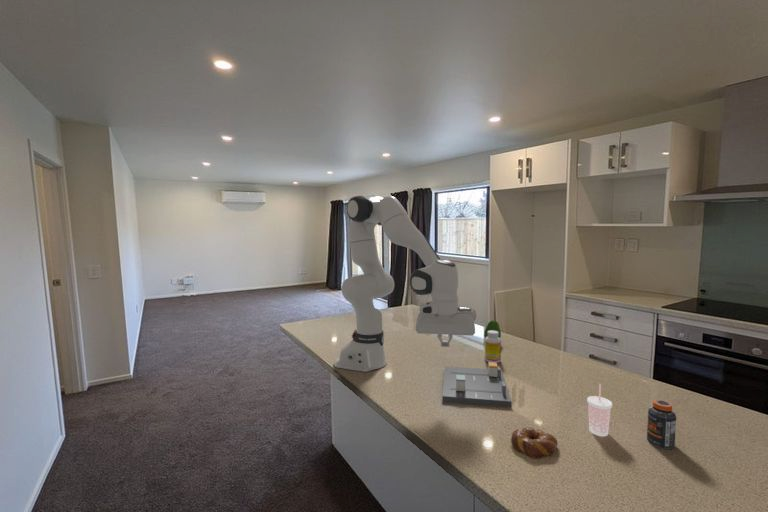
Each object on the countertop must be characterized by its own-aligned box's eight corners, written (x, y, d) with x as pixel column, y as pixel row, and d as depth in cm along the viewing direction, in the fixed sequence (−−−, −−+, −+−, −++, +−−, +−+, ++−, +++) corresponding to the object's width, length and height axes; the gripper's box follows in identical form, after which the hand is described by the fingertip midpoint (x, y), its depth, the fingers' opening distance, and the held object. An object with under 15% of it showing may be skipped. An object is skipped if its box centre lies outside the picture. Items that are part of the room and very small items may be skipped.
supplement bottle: (501, 364, 152) (501, 334, 151) (485, 363, 153) (485, 333, 152) (499, 358, 158) (500, 330, 157) (484, 357, 160) (484, 329, 159)
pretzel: (546, 434, 100) (547, 422, 100) (567, 459, 89) (567, 445, 89) (504, 435, 100) (504, 423, 100) (519, 461, 89) (519, 446, 89)
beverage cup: (601, 440, 97) (603, 390, 96) (581, 428, 103) (582, 381, 102) (616, 434, 99) (618, 386, 98) (595, 423, 105) (597, 377, 104)
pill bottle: (641, 437, 98) (642, 397, 97) (661, 436, 99) (663, 396, 98) (659, 450, 92) (661, 408, 91) (681, 449, 93) (683, 407, 92)
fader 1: (456, 390, 122) (456, 379, 122) (456, 385, 126) (456, 374, 126) (465, 391, 122) (465, 379, 122) (464, 386, 126) (465, 375, 125)
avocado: (504, 344, 177) (504, 320, 176) (493, 347, 172) (493, 323, 171) (491, 340, 183) (491, 317, 182) (480, 343, 179) (480, 319, 178)
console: (442, 401, 120) (442, 387, 119) (445, 371, 145) (445, 359, 145) (511, 407, 115) (511, 392, 115) (501, 374, 141) (501, 362, 140)
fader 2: (489, 376, 134) (489, 365, 133) (488, 372, 138) (488, 361, 137) (497, 376, 133) (497, 366, 133) (496, 372, 137) (496, 362, 137)
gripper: (475, 306, 124) (475, 344, 125) (416, 304, 128) (417, 341, 129) (476, 310, 118) (476, 350, 119) (415, 308, 122) (415, 347, 123)
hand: (445, 346), depth 124 cm, fingers closed
